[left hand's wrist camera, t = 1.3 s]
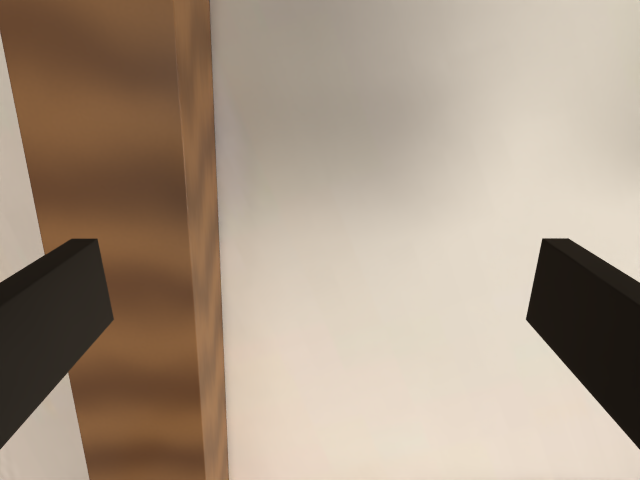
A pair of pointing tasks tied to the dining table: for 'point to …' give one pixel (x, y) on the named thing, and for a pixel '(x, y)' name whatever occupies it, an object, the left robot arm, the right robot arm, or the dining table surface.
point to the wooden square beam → (132, 217)
